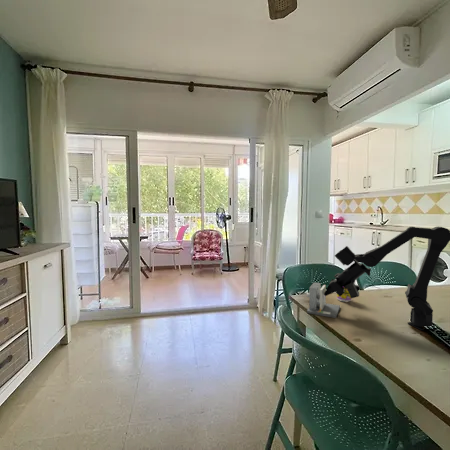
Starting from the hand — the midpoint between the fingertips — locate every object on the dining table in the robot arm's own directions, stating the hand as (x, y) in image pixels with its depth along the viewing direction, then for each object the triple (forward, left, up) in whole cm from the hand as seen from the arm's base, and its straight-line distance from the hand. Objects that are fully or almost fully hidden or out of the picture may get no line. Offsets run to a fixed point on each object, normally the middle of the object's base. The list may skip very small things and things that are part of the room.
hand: (324, 294), depth 121 cm
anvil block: (+3, +3, -6) cm, 7 cm away
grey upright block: (+2, +4, -6) cm, 7 cm away
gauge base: (0, 0, -7) cm, 7 cm away
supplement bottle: (+11, -17, -7) cm, 22 cm away
